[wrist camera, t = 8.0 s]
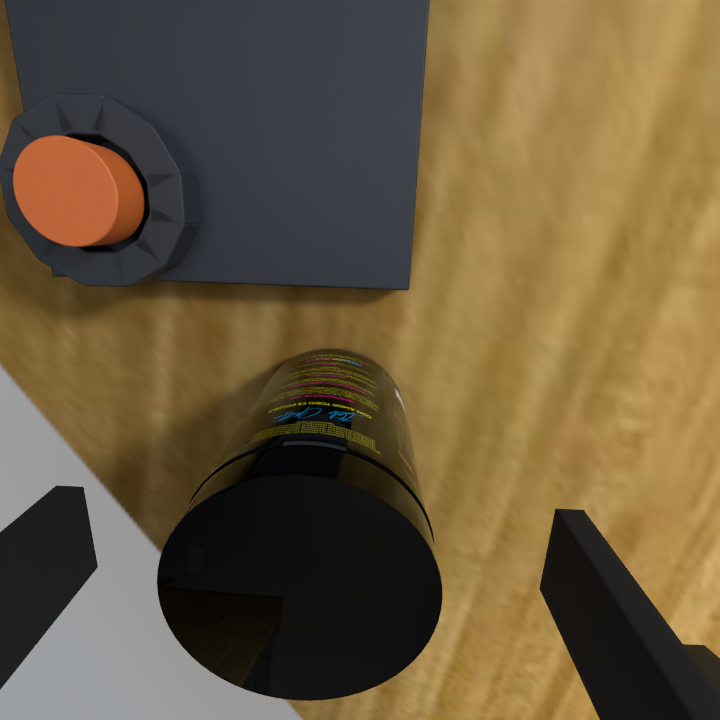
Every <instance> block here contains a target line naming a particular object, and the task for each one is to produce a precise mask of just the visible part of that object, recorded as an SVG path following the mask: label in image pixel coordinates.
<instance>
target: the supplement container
mask: <svg viewBox="0 0 720 720" xmlns="http://www.w3.org/2000/svg"><path fill="white" fill-rule="evenodd" d="M157 587H158V596H159V601H160V606H161V609H162V612H163V615H164V617H165V619H166V621H167V623H168V626H169V628H170V629H171V631H172V632H173V634H174V636H175V637H176V639H177V640H178V641H179V643H180V644H181V645H182V647H183V648H184V649H185V650H186V651H187V652H188V653H189V654H190V655H191V656H192V657H193V658H194V659H195V660H196V661H198V662H199V663H200V664H201V665H202V666H204V667H205V668H207V669H208V670H209V671H210V672H212V673H214V674H215V675H217V676H218V677H220V678H222V679H224V680H226V681H228V682H230V683H231V684H234V685H236V686H238V687H241V688H243V689H246V690H249V691H252V692H255V693H258V694H262V695H266V696H270V697H275V698H281V699H289V700H309V701H312V700H327V699H334V698H340V697H345V696H350V695H353V694H356V693H360V692H363V691H366V690H368V689H371V688H373V687H375V686H378V685H380V684H382V683H384V682H386V681H387V680H389V679H391V678H392V677H394V676H395V675H397V674H398V673H400V672H401V671H402V670H404V669H405V668H406V667H407V666H408V665H409V664H410V663H412V662H413V661H414V660H415V659H416V657H417V656H418V655H419V654H420V653H421V652H422V650H423V649H424V648H425V646H426V645H427V643H428V642H429V640H430V638H431V636H432V634H433V633H434V630H435V628H436V625H437V623H438V620H439V616H440V612H441V605H442V583H441V576H440V571H439V566H438V562H437V557H436V552H435V547H434V538H433V532H432V527H431V524H430V520H429V517H428V514H427V512H426V509H425V505H424V500H423V495H422V490H421V485H420V480H419V475H418V470H417V466H416V461H415V456H414V451H413V446H412V441H411V436H410V431H409V427H408V422H407V417H406V412H405V407H404V403H403V399H402V396H401V394H400V391H399V389H398V388H397V386H396V384H395V383H394V381H393V380H392V378H391V377H390V376H389V375H388V374H387V373H386V372H385V371H384V370H383V369H382V368H381V367H380V366H379V365H377V364H376V363H375V362H373V361H371V360H370V359H368V358H366V357H364V356H362V355H359V354H357V353H354V352H350V351H346V350H340V349H319V350H313V351H309V352H305V353H303V354H300V355H298V356H296V357H293V358H292V359H290V360H288V361H287V362H285V363H284V364H283V365H281V366H280V367H279V368H278V369H277V370H276V371H275V372H274V373H273V374H272V375H271V377H270V378H269V379H268V381H267V383H266V384H265V386H264V387H263V389H262V391H261V392H260V394H259V395H258V397H257V399H256V400H255V402H254V403H253V405H252V407H251V408H250V410H249V411H248V413H247V415H246V416H245V418H244V419H243V421H242V423H241V424H240V426H239V428H238V429H237V431H236V432H235V434H234V436H233V437H232V439H231V440H230V442H229V444H228V445H227V447H226V448H225V450H224V452H223V453H222V455H221V457H220V458H219V460H218V461H217V463H216V465H215V466H214V468H213V469H212V471H211V473H210V474H209V475H208V476H207V477H206V478H205V480H204V481H203V482H202V483H201V485H200V486H199V488H198V489H197V491H196V492H195V494H194V495H193V497H192V499H191V501H190V503H189V505H188V507H187V509H186V510H185V512H184V514H183V515H182V517H181V518H180V520H179V522H178V523H177V525H176V526H175V528H174V530H173V531H172V533H171V534H170V536H169V538H168V540H167V542H166V544H165V546H164V549H163V551H162V554H161V557H160V562H159V567H158V576H157Z"/></svg>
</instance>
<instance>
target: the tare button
mask: <svg viewBox="0 0 720 720" xmlns="http://www.w3.org/2000/svg"><path fill="white" fill-rule="evenodd" d="M13 187H14V193H15V197H16V200H17V203H18V205H19V207H20V209H21V211H22V213H23V215H24V216H25V218H26V219H27V220H28V222H29V223H30V224H31V225H32V226H33V227H34V228H35V229H36V230H37V231H38V232H39V233H41V234H42V235H43V236H45V237H46V238H48V239H50V240H52V241H54V242H56V243H59V244H61V245H65V246H71V247H84V246H96V245H107V244H114V243H118V242H121V241H123V240H125V239H127V238H128V237H129V236H131V235H132V234H133V233H134V232H135V231H136V229H137V228H138V226H139V224H140V223H141V220H142V217H143V213H144V206H145V202H144V193H143V189H142V185H141V183H140V181H139V178H138V177H137V175H136V173H135V171H134V170H133V169H132V167H131V166H130V165H129V164H128V163H127V161H126V160H124V159H123V158H122V157H121V156H120V155H118V154H117V153H115V152H114V151H112V150H110V149H107V148H105V147H102V146H98V145H95V144H91V143H88V142H84V141H81V140H77V139H74V138H70V137H66V136H59V135H53V136H46V137H42V138H39V139H37V140H35V141H33V142H32V143H30V144H29V145H28V146H27V147H26V148H25V149H24V150H23V151H22V152H21V154H20V155H19V157H18V159H17V161H16V164H15V168H14V174H13Z"/></svg>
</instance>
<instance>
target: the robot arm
mask: <svg viewBox="0 0 720 720" xmlns="http://www.w3.org/2000/svg"><path fill="white" fill-rule="evenodd" d="M97 567H98V566H97V560H96V555H95V549H94V544H93V538H92V532H91V527H90V521H89V516H88V510H87V504H86V499H85V494H84V488H83V487H72V486H71V487H70V486H55V487H54V488H53V489H52V490H51V491H49V492H48V493H47V494H46V495H45V496H43V497H42V498H41V499H40V500H39V501H37V502H36V503H35V504H34V505H33V506H31V507H30V508H29V509H28V510H27V511H25V512H24V513H23V514H22V515H21V516H20V517H18V518H17V519H16V520H15V521H13V522H12V523H11V524H10V525H9V526H7V527H6V528H5V529H4V530H3V531H1V532H0V689H1V688H2V687H3V685H4V684H5V683H6V682H7V680H8V679H9V678H10V676H11V675H12V674H13V673H14V672H15V670H16V669H17V668H18V667H19V665H20V664H21V663H22V662H23V660H24V659H25V658H26V656H27V655H28V654H29V653H30V651H31V650H32V649H33V648H34V646H35V645H36V644H37V643H38V641H39V640H40V639H41V638H42V636H43V635H44V634H45V633H46V631H47V630H48V629H49V628H50V626H51V625H52V624H53V622H54V621H55V620H56V619H57V617H58V616H59V615H60V614H61V612H62V611H63V610H64V609H65V607H66V606H67V605H68V604H69V602H70V601H71V600H72V599H73V597H74V596H75V595H76V594H77V592H78V591H79V590H80V589H81V587H82V586H83V585H84V584H85V582H86V581H87V580H88V579H89V577H90V576H91V575H92V573H93V572H94V571H95V570H96V568H97ZM540 591H541V593H542V595H543V597H544V599H545V601H546V604H547V606H548V608H549V610H550V612H551V614H552V617H553V619H554V621H555V623H556V625H557V627H558V630H559V632H560V634H561V636H562V638H563V640H564V643H565V645H566V647H567V649H568V651H569V654H570V656H571V658H572V660H573V662H574V664H575V667H576V669H577V671H578V673H579V675H580V677H581V680H582V682H583V684H584V686H585V688H586V690H587V693H588V695H589V697H590V699H591V701H592V703H593V706H594V708H595V710H596V712H597V714H598V716H599V719H600V720H720V658H719V657H718V656H716V655H715V654H714V653H713V652H712V651H710V650H709V649H708V648H707V647H706V646H704V645H686V644H682V643H681V641H680V640H679V639H678V637H677V636H676V635H675V633H674V632H673V630H672V629H671V628H670V626H669V625H668V624H667V622H666V621H665V620H664V618H663V617H662V616H661V614H660V613H659V612H658V610H657V609H656V607H655V606H654V605H653V603H652V602H651V601H650V599H649V598H648V597H647V595H646V594H645V593H644V591H643V590H642V589H641V587H640V586H639V584H638V583H637V582H636V580H635V579H634V578H633V576H632V575H631V574H630V572H629V571H628V570H627V568H626V567H625V566H624V564H623V563H622V561H621V560H620V559H619V557H618V556H617V555H616V553H615V552H614V551H613V549H612V548H611V547H610V545H609V544H608V543H607V541H606V540H605V538H604V537H603V536H602V534H601V533H600V532H599V530H598V529H597V528H596V526H595V525H594V524H593V522H592V521H591V520H590V518H589V517H588V515H587V514H586V513H585V511H584V510H570V509H555V514H554V519H553V524H552V529H551V534H550V539H549V544H548V549H547V554H546V559H545V564H544V569H543V574H542V579H541V584H540Z"/></svg>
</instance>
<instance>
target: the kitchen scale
mask: <svg viewBox="0 0 720 720" xmlns="http://www.w3.org/2000/svg"><path fill="white" fill-rule="evenodd" d="M429 1H430V0H5V5H6V11H7V17H8V22H9V28H10V34H11V40H12V45H13V51H14V57H15V62H16V68H17V74H18V80H19V85H20V91H21V97H22V102H23V108H24V112H23V113H21V114H20V115H19V116H17V117H16V118H14V120H13V121H12V124H11V127H10V130H9V133H8V136H7V139H6V142H5V145H4V148H3V151H2V154H1V157H0V180H1V185H2V190H3V195H4V200H5V205H6V210H7V216H8V217H9V220H10V221H11V222H12V224H13V225H14V227H15V228H16V229H17V231H18V232H19V233H20V235H21V236H22V238H23V239H24V240H25V242H26V243H27V244H28V246H29V247H30V248H31V250H32V251H33V253H34V254H35V255H36V257H37V258H38V259H39V260H40V261H41V262H43V263H45V264H46V265H48V266H50V267H51V268H52V274H53V276H55V277H69V278H71V279H73V280H75V281H76V282H78V283H80V284H82V285H86V286H109V287H129V286H134V285H138V284H141V283H145V282H149V281H151V280H157V281H182V282H208V283H234V284H259V285H285V286H311V287H336V288H362V289H388V290H409V284H410V270H411V256H412V241H413V227H414V213H415V199H416V185H417V171H418V156H419V142H420V128H421V114H422V100H423V86H424V71H425V57H426V43H427V29H428V15H429ZM53 135H59V136H66V137H70V138H74V139H77V140H81V141H84V142H88V143H91V144H95V145H98V146H102V147H105V148H107V149H110V150H112V151H114V152H115V153H117V154H118V155H120V156H121V157H122V158H123V159H124V160H126V161H127V163H128V164H129V165H130V166H131V167H132V169H133V170H134V171H135V173H136V175H137V177H138V178H139V181H140V183H141V185H142V189H143V193H144V202H145V206H144V213H143V217H142V220H141V223H140V224H139V226H138V228H137V229H136V231H135V232H134V233H133V234H132V235H131V236H129V237H128V238H127V239H125V240H123V241H121V242H118V243H114V244H107V245H96V246H84V247H71V246H65V245H61V244H59V243H56V242H54V241H52V240H50V239H48V238H46V237H45V236H43V235H42V234H41V233H39V232H38V231H37V230H36V229H35V228H34V227H33V226H32V225H31V224H30V223H29V222H28V220H27V219H26V218H25V216H24V215H23V213H22V211H21V209H20V207H19V205H18V203H17V200H16V197H15V193H14V187H13V174H14V168H15V164H16V161H17V159H18V157H19V155H20V154H21V152H22V151H23V150H24V149H25V148H26V147H27V146H28V145H29V144H30V143H32V142H33V141H35V140H37V139H39V138H42V137H46V136H53Z"/></svg>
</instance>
